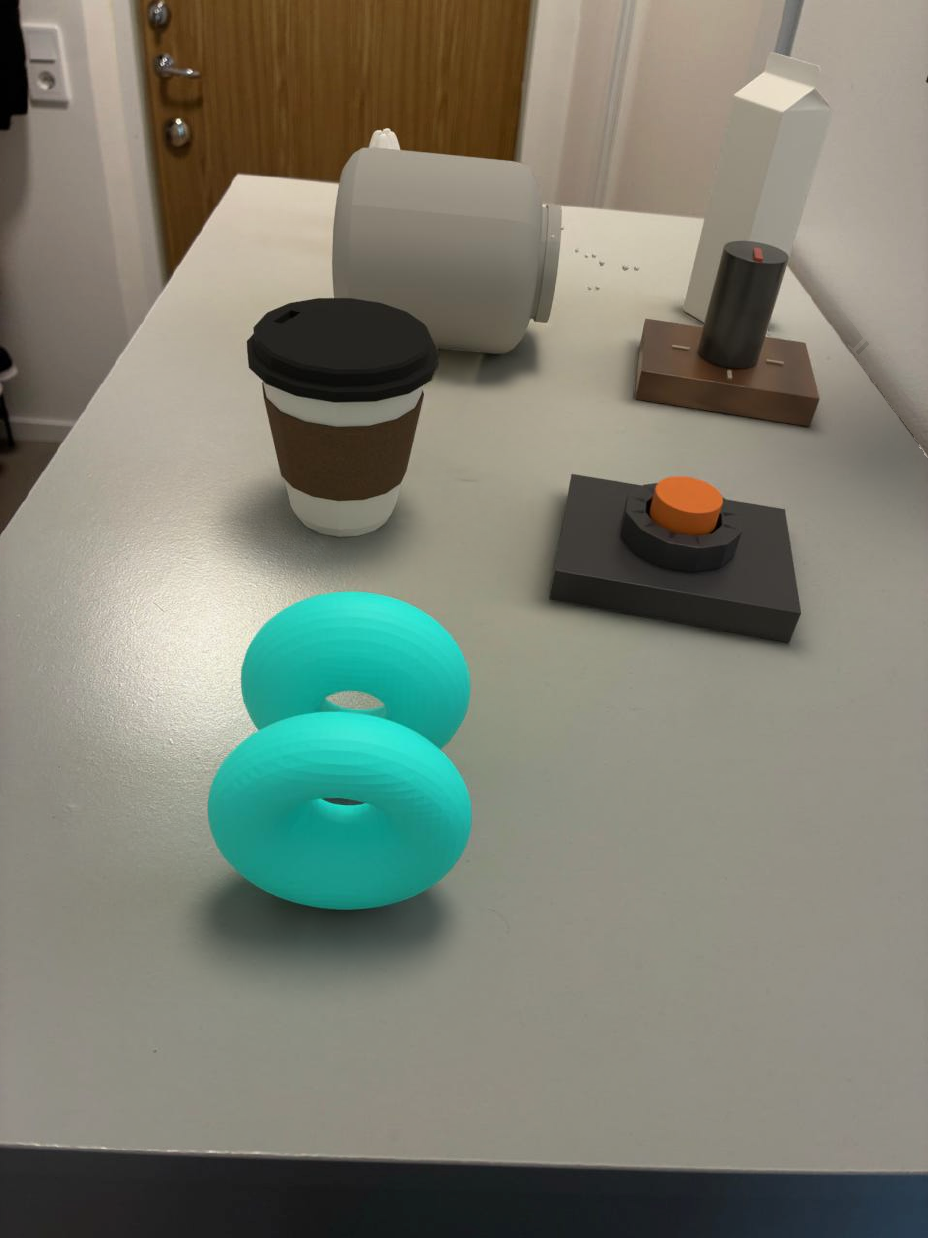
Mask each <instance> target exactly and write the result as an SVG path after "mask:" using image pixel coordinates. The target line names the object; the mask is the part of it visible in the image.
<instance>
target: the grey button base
mask: <svg viewBox="0 0 928 1238" xmlns="http://www.w3.org/2000/svg"><path fill="white" fill-rule="evenodd" d="M658 483H659V482H655V483H654V482H653V483H646V484H645V483H644V484H635V483H630V482H625V481H618V480H613V479H612V480H611V479H606V478H601V477H594V476H587V475H581V474H576V473H571V474H570V480H569V486H568V490H567V496H566V501H565V507H564V513H563V518H562V524H561V531H560V536H559V541H558V547H557V551H556V557H555V563H554V569H553V576H552V580H551V586H550V592H549V600H550V601H555V602H560V603H566V604H571V605H578V606H584V607H589V608H594V609H600V610H605V611H612V612H617V613H622V614H628V615H634V616H640V617H645V618H651V619H656V620H662V621H668V622H674V623H680V624H685V625H689V626H696V627H701V628H707V629H713V630H717V631H723V632H729V633H735V634H742V635H746V636H752V637H757V638H758V637H759V638H764V639H768V640H774V641H780V642H785V643H790V642H791V639H792V637H793V635H794V632H795V629H796V627H797V625H798V622H799V620H800V618H801V615H802V610H801V604H800V598H799V597H800V596H799V590H798V585H797V578H796V571H795V565H794V557H793V551H792V547H791V545H792V544H791V538H790V532H789V527H788V526H789V525H788V521H787V514H786V509H785V508H781V507H773V506H770V505H769V506H768V505H761V504H756V503H750V502H744V501H738V500H732V499H726V498H725V497H723V496H722V498H723V504H722V507H721V510H720V514H719V517H718V520H717V523H716V527H715V528H714V530H713V531H712V532H710V533H709V534H705V535H698V536H692V535H686V534H681V533H675V532H672V531H670V530H668V529H666V528H664V527H662V526H660V525H658V524H656V523H655V522H654V521H653V520H652V519H651V517H650V507H651V503H652V499H653V495H654V491H655V487H656V485H657V484H658Z"/></svg>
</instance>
